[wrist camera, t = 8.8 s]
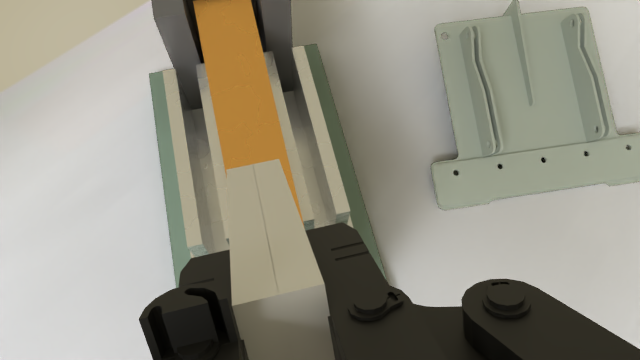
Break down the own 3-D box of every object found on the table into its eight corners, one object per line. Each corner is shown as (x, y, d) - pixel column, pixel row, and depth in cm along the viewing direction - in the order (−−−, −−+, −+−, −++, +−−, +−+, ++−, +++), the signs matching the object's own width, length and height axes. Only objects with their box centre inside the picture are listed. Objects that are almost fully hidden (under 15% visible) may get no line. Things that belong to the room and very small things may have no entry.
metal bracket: (410, 3, 31) (629, -22, 33) (391, 40, 37) (577, 17, 38) (451, 225, 30) (680, 190, 31) (424, 228, 36) (618, 198, 37)
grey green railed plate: (393, 311, 29) (395, 309, 28) (189, 362, 28) (185, 361, 27) (316, 50, 36) (316, 43, 36) (152, 80, 35) (148, 73, 34)
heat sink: (371, 315, 28) (394, 288, 21) (211, 355, 27) (177, 341, 20) (313, 103, 34) (315, 25, 27) (177, 129, 33) (142, 55, 25)
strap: (315, 282, 23) (316, 277, 21) (250, 297, 22) (247, 293, 21) (250, 5, 28) (248, -13, 26) (196, 14, 27) (191, -4, 26)
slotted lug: (294, 100, 34) (290, -5, 25) (195, 120, 33) (153, 18, 24) (282, 54, 35) (274, -61, 26) (187, 71, 34) (145, -41, 26)
